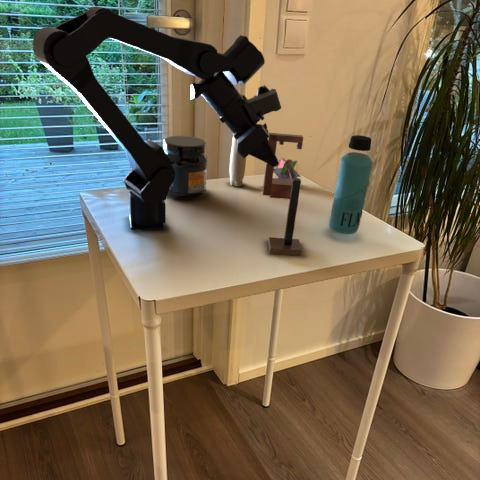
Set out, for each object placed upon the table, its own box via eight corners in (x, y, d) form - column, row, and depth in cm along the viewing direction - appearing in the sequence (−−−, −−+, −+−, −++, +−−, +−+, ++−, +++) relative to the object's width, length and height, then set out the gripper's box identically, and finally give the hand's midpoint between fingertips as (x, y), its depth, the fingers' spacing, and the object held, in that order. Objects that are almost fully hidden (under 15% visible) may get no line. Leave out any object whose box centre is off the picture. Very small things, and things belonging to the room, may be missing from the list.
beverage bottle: (334, 242, 103) (354, 141, 92) (321, 228, 108) (338, 131, 97) (362, 240, 105) (385, 141, 94) (348, 227, 110) (369, 132, 99)
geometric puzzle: (309, 181, 128) (300, 150, 127) (289, 184, 124) (279, 153, 124) (292, 190, 134) (283, 161, 133) (272, 194, 130) (263, 164, 130)
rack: (269, 253, 96) (278, 182, 88) (264, 220, 110) (272, 156, 102) (300, 255, 96) (312, 185, 89) (292, 222, 110) (301, 158, 102)
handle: (235, 190, 124) (240, 126, 116) (221, 182, 129) (224, 120, 120) (251, 187, 127) (257, 125, 119) (236, 179, 131) (241, 118, 123)
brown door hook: (263, 197, 107) (270, 135, 100) (262, 190, 110) (268, 131, 103) (295, 199, 107) (304, 138, 100) (293, 193, 110) (301, 133, 103)
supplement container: (215, 195, 120) (218, 143, 113) (179, 204, 114) (180, 149, 107) (187, 182, 126) (188, 132, 119) (152, 190, 120) (151, 137, 113)
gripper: (262, 80, 87) (314, 150, 94) (257, 66, 103) (302, 127, 110) (214, 124, 91) (267, 188, 98) (216, 104, 107) (262, 160, 114)
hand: (276, 163), depth 105 cm, fingers closed on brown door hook, 2 cm apart
